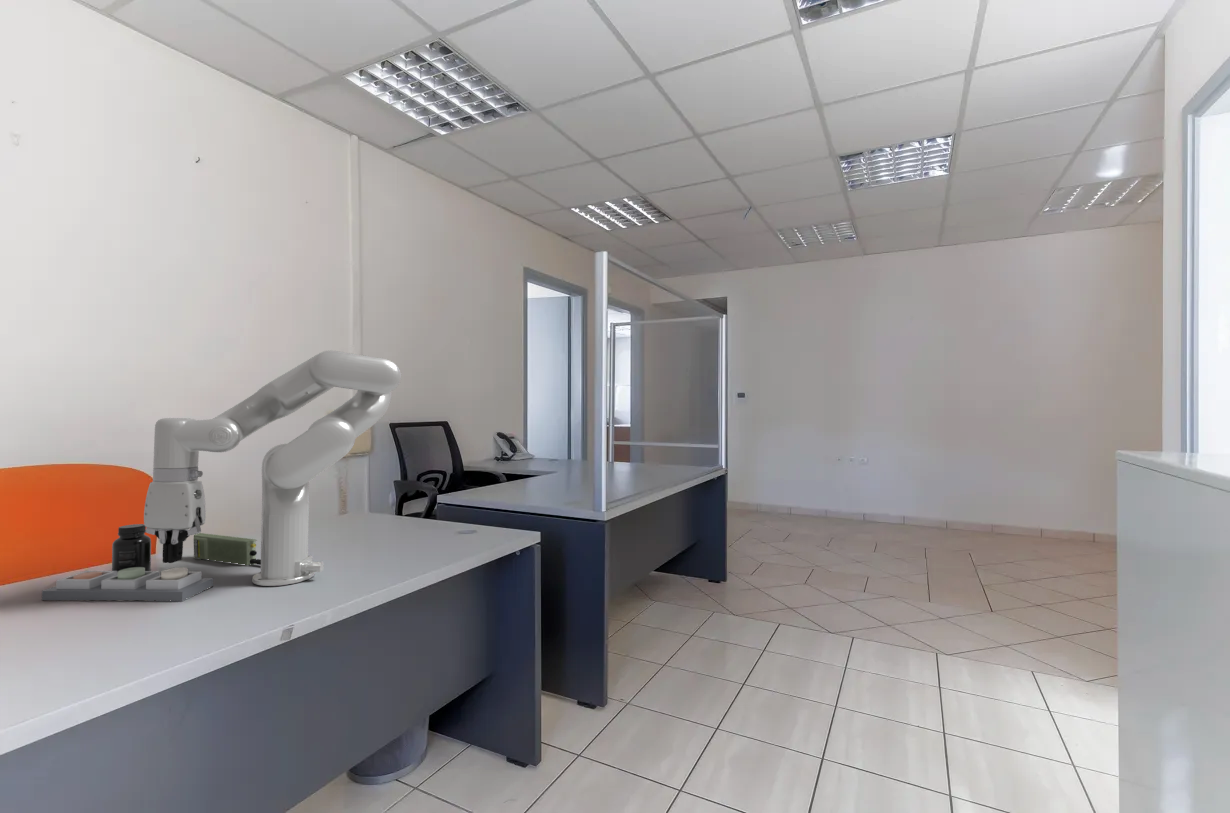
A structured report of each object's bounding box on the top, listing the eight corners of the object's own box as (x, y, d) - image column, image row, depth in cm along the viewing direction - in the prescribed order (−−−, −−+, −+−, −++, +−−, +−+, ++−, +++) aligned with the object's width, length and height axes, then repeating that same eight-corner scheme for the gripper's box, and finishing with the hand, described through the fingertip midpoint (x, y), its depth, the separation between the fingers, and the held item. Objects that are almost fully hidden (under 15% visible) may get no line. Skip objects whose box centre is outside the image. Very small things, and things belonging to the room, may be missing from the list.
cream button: (192, 575, 119) (192, 567, 119) (177, 582, 115) (177, 573, 115) (171, 575, 119) (172, 567, 119) (155, 582, 115) (155, 573, 115)
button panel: (212, 586, 121) (213, 569, 121) (182, 601, 112) (182, 583, 112) (83, 586, 120) (83, 568, 120) (41, 600, 111) (42, 582, 111)
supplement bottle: (158, 573, 130) (159, 523, 130) (130, 582, 123) (131, 529, 123) (132, 572, 131) (133, 522, 131) (103, 581, 124) (104, 528, 124)
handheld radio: (204, 556, 146) (275, 566, 138) (191, 560, 143) (263, 570, 135) (203, 531, 146) (274, 540, 138) (190, 535, 143) (262, 543, 135)
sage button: (150, 575, 119) (150, 567, 119) (133, 581, 114) (133, 573, 114) (129, 575, 119) (129, 567, 119) (111, 581, 114) (111, 573, 114)
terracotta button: (107, 579, 118) (107, 571, 118) (88, 586, 114) (88, 577, 114) (86, 579, 118) (86, 571, 118) (67, 586, 114) (67, 577, 114)
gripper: (223, 474, 121) (220, 557, 121) (154, 472, 120) (150, 556, 120) (198, 478, 113) (195, 567, 113) (124, 476, 113) (121, 565, 113)
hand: (172, 561), depth 117 cm, fingers closed
